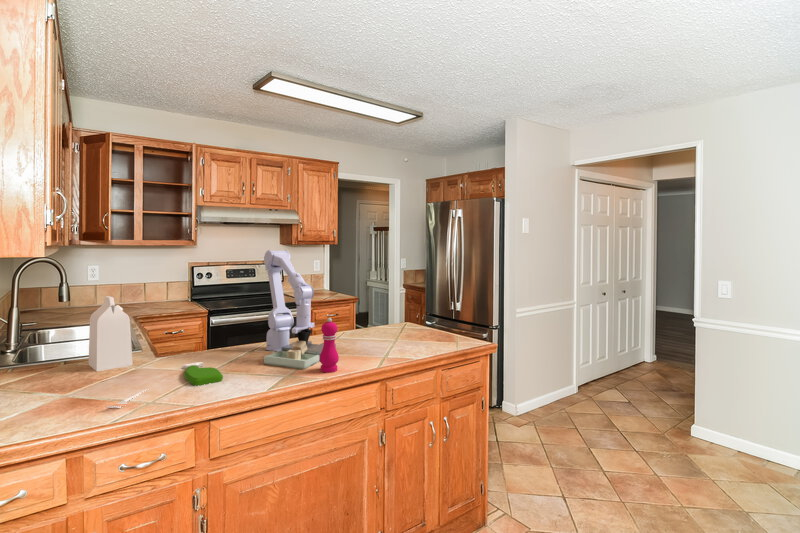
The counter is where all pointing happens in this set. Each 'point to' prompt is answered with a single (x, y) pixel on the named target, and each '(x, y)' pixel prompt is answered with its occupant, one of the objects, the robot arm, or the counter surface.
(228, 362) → the counter surface
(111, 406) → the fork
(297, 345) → the birch block rear
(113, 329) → the milk
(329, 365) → the pepper mill
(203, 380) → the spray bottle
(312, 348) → the slotted plate
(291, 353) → the birch block front
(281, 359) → the tray
